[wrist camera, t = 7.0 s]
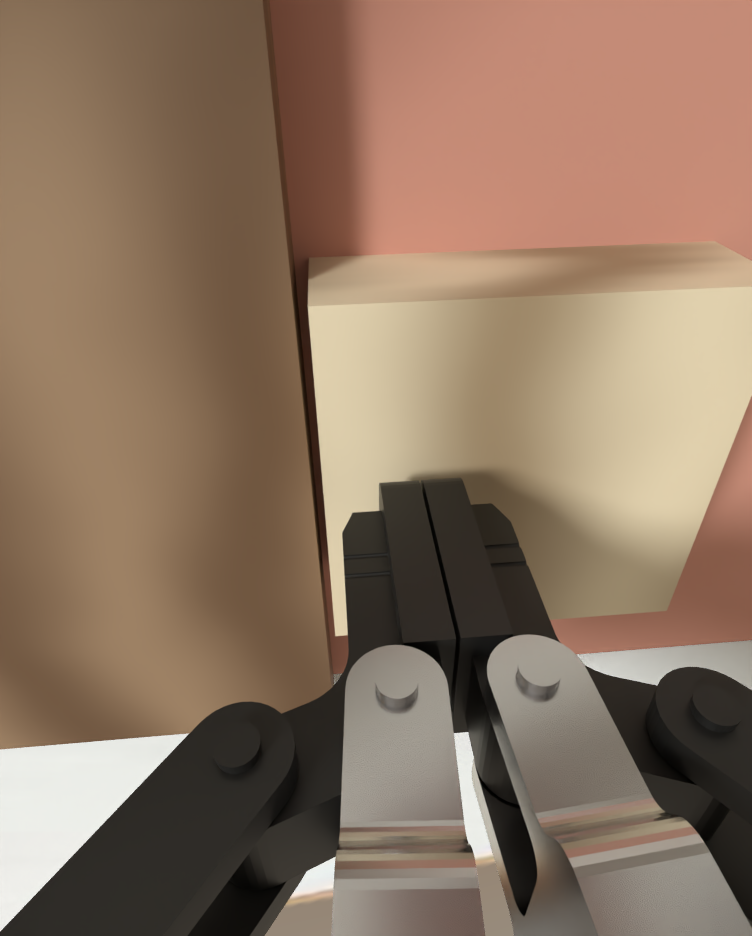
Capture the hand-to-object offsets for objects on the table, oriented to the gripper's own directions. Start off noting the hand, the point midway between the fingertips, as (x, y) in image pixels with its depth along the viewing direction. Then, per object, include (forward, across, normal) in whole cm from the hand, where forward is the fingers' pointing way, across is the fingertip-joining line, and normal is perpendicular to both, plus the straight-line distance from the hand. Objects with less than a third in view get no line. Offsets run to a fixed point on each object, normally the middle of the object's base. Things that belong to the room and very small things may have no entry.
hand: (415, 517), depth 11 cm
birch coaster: (+3, -2, 0) cm, 4 cm away
